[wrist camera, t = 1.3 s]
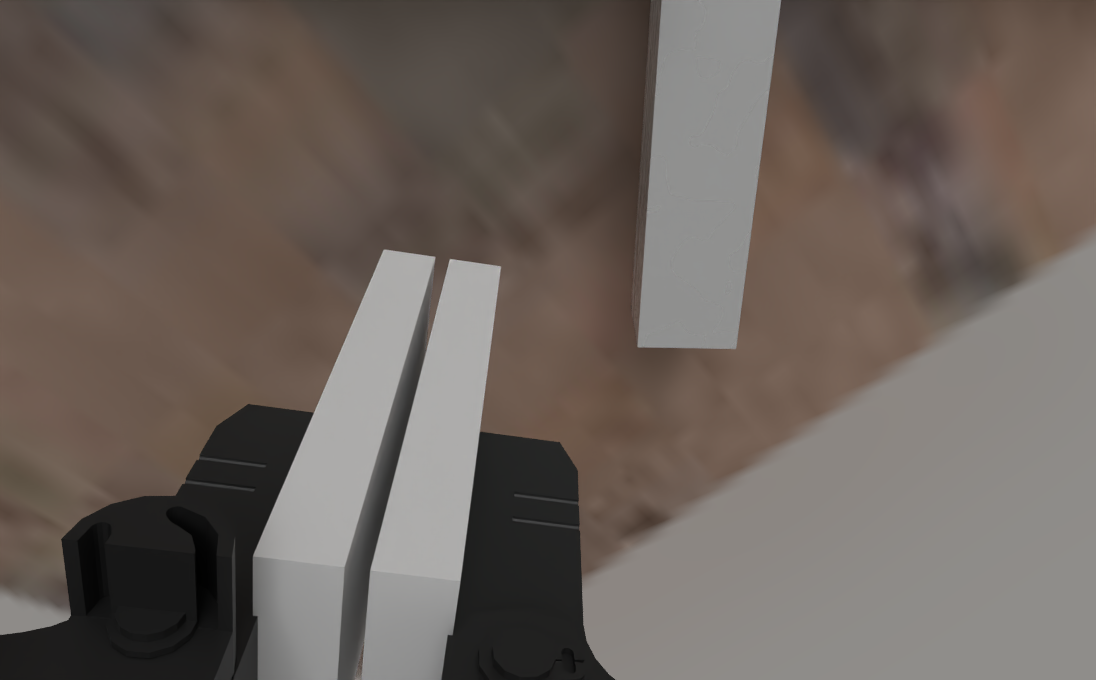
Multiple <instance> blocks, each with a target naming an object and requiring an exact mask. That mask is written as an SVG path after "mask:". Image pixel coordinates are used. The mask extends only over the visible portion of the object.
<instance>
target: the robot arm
mask: <svg viewBox="0 0 1096 680" xmlns="http://www.w3.org/2000/svg"><path fill="white" fill-rule="evenodd" d="M434 266H435V257H432V256H425V255H419V254H412V253H405V252H398V251H391V250H384V251H383V253H382V255H381V258H380V260H379V262H378V265H377V267H376V269H375V272H374V274H373V276H372V279H371V281H370V283H369V286H368V288H367V290H366V293H365V295H364V297H363V300H362V302H361V304H360V307H359V309H358V311H357V314H356V316H355V318H354V321H353V323H352V325H351V328H350V330H349V332H348V335H347V337H346V339H345V342H344V344H343V346H342V349H341V351H340V353H339V356H338V358H337V360H336V363H335V365H334V368H333V370H332V372H331V375H330V377H329V379H328V382H327V384H326V386H325V389H324V391H323V393H322V396H321V398H320V400H319V403H318V405H317V407H316V410H315V412H314V413H311V412H304V411H296V410H289V409H281V408H273V407H266V406H258V405H251V404H248V405H246V406H245V407H244V408H242V409H241V410H239V411H238V412H236V413H235V414H233V415H232V416H231V417H229V418H228V419H226V420H225V421H223V422H222V423H220V424H219V425H217V426H216V428H215V430H214V431H213V433H212V435H211V436H210V438H209V440H208V442H207V443H206V445H205V447H204V448H203V450H202V452H201V453H200V458H199V460H196V462H195V464H194V465H193V467H192V469H191V470H190V472H189V474H188V476H187V477H186V482H185V484H182V486H181V487H180V489H179V491H178V493H177V494H176V496H143V497H139V498H135V499H130V500H126V501H122V502H118V503H113V504H110V505H108V506H106V507H104V508H102V509H100V510H98V511H96V512H95V513H93V514H91V515H89V516H87V517H85V518H83V519H81V520H80V521H79V522H78V523H77V524H76V525H75V526H74V527H73V528H72V529H71V530H70V531H69V532H68V533H67V534H66V535H65V536H64V537H63V538H62V539H61V540H62V548H63V555H64V563H65V571H66V579H67V586H68V594H69V602H70V609H71V616H70V618H69V620H67V621H64V622H62V623H59V624H57V625H54V626H51V627H46V628H41V629H36V630H32V631H27V632H22V633H13V634H6V635H0V680H355V676H356V672H357V668H358V664H359V659H360V655H361V651H362V647H363V643H364V654H363V666H362V678H361V680H615V679H614V678H613V677H611V676H610V675H609V674H608V673H607V672H606V671H605V669H604V668H603V667H602V666H601V665H600V663H599V662H598V661H597V660H596V659H595V657H594V655H593V653H592V651H591V649H590V647H589V645H588V644H587V641H586V636H585V631H584V626H583V606H582V605H583V604H582V577H581V550H580V531H579V525H580V523H579V506H578V501H579V497H578V470H577V469H576V467H575V465H574V464H573V462H572V461H571V459H570V458H569V456H568V454H567V453H566V451H565V450H564V448H563V447H562V445H561V444H560V442H553V441H545V440H538V439H530V438H522V437H515V436H507V435H500V434H492V433H485V432H480V425H481V418H482V410H483V402H484V394H485V387H486V379H487V371H488V363H489V356H490V348H491V340H492V332H493V324H494V317H495V309H496V301H497V293H498V286H499V278H500V270H501V266H494V265H488V264H481V263H474V262H467V261H460V260H453V259H450V261H449V265H448V269H447V273H446V277H445V280H444V284H443V288H442V292H441V296H440V300H439V304H438V308H437V312H436V316H435V320H434V323H433V327H432V331H431V335H430V339H429V343H428V347H427V351H426V343H427V333H428V324H429V314H430V304H431V295H432V285H433V276H434ZM425 352H426V355H425ZM364 639H365V641H364Z"/></svg>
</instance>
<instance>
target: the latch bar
mask: <svg viewBox="0 0 1096 680" xmlns="http://www.w3.org/2000/svg"><path fill="white" fill-rule="evenodd" d="M780 5H781V0H651V5H650V21H649V36H648V52H647V67H646V83H645V98H644V113H643V129H642V144H641V160H640V175H639V191H638V206H637V222H636V237H635V252H634V268H633V283H632V299H631V312H632V318H633V324H634V330H635V336H636V342H637V347H652V348H715V349H736V345H737V337H738V330H739V322H740V314H741V306H742V299H743V291H744V283H745V275H746V268H747V260H748V252H749V244H750V237H751V229H752V221H753V214H754V206H755V198H756V190H757V183H758V175H759V167H760V159H761V152H762V144H763V136H764V128H765V121H766V113H767V105H768V98H769V90H770V82H771V74H772V67H773V59H774V51H775V43H776V36H777V28H778V20H779V12H780Z"/></svg>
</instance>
